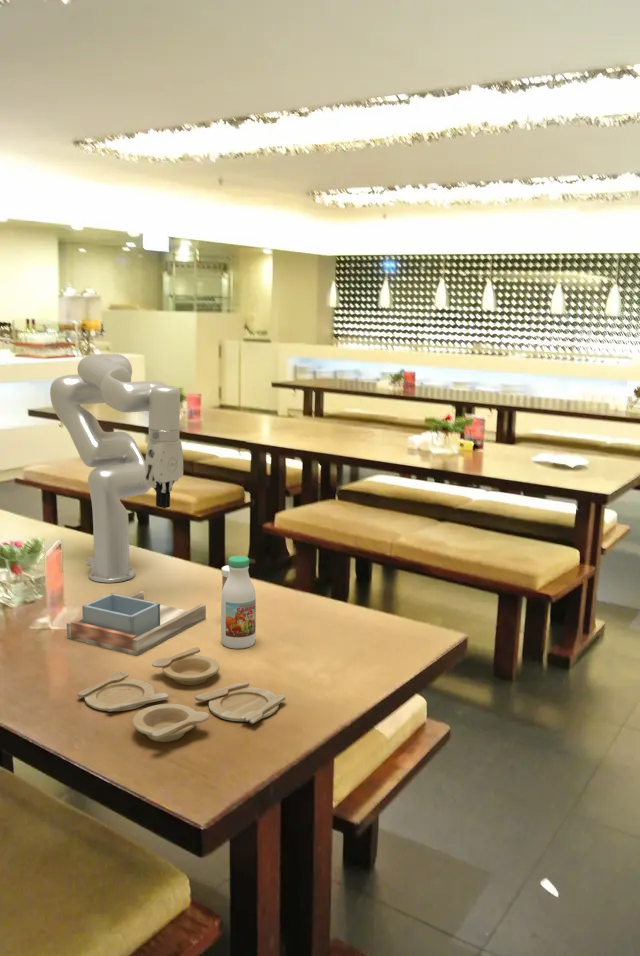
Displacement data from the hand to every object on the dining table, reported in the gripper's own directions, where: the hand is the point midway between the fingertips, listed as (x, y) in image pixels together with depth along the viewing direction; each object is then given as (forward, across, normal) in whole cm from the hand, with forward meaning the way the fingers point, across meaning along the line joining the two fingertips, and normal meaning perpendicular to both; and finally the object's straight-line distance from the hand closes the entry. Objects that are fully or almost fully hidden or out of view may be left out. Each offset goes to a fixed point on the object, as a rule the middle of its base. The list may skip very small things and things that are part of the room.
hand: (162, 506), depth 210 cm
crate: (+23, -25, -9) cm, 35 cm away
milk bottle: (+23, -14, -34) cm, 43 cm away
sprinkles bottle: (+24, -4, -24) cm, 34 cm away
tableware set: (+23, -44, -41) cm, 64 cm away
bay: (+24, -19, -9) cm, 32 cm away
